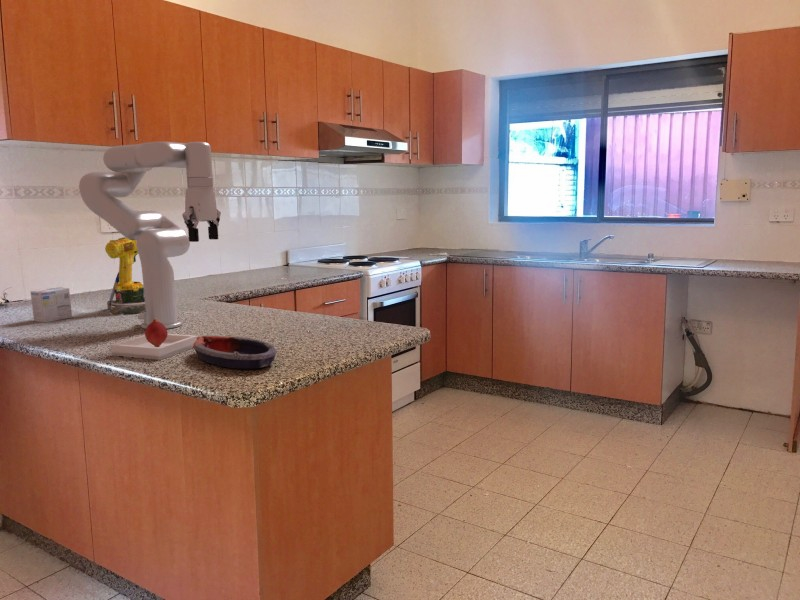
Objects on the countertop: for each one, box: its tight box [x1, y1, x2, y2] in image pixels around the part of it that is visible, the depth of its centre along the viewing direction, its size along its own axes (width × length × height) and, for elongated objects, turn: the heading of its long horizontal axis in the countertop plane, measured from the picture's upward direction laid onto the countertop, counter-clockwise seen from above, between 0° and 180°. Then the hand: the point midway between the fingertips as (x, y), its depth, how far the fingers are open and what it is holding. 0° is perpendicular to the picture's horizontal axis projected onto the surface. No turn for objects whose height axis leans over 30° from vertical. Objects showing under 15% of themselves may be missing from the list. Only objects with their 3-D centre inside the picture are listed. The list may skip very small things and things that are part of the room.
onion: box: [144, 318, 169, 347], centre depth 179 cm, size 6×6×8 cm
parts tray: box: [109, 333, 199, 361], centre depth 179 cm, size 16×16×3 cm
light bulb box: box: [30, 286, 73, 324], centre depth 229 cm, size 11×7×11 cm, turn 149°
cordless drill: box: [104, 236, 146, 315], centre depth 244 cm, size 18×19×28 cm
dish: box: [192, 335, 277, 370], centre depth 167 cm, size 16×31×5 cm, turn 45°
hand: (204, 240), depth 200 cm, fingers open, 9 cm apart
